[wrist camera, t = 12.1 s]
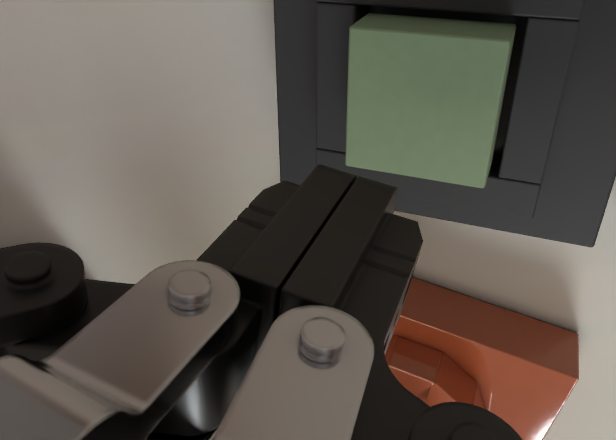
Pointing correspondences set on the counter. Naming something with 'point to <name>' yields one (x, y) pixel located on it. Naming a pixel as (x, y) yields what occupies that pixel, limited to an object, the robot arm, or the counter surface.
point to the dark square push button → (513, 119)
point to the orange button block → (483, 358)
